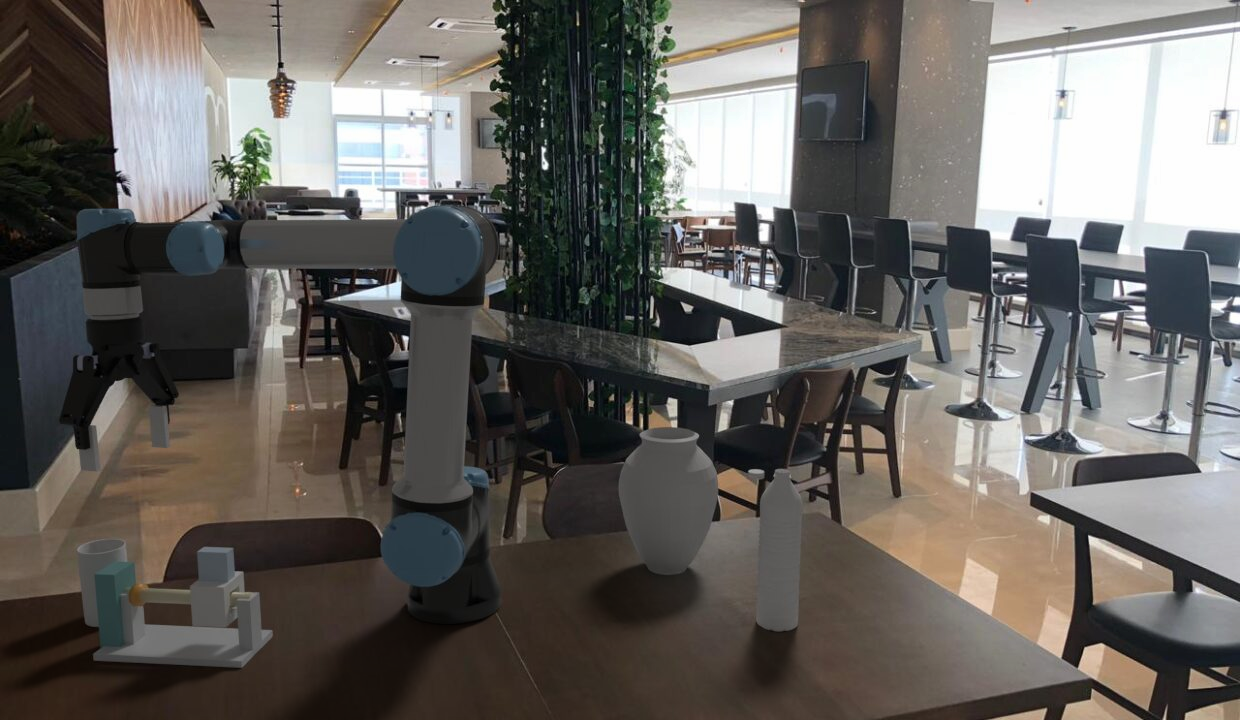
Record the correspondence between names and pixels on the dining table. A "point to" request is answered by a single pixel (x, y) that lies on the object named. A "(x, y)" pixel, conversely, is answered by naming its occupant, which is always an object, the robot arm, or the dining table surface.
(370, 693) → the dining table surface
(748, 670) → the dining table surface
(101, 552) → the mug
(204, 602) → the grey stepped block
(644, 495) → the vase
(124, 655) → the grey vise fixture
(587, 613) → the dining table surface
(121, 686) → the dining table surface
